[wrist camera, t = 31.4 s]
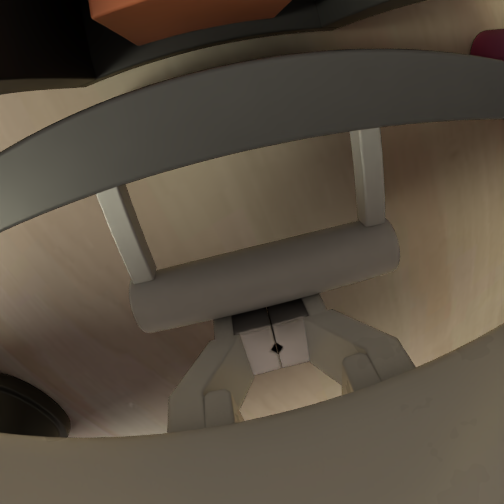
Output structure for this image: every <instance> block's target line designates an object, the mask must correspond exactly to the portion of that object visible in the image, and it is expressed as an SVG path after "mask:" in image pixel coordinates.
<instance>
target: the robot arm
mask: <svg viewBox="0 0 504 504" xmlns="http://www.w3.org/2000/svg"><path fill="white" fill-rule="evenodd" d="M266 308H267V309H266ZM267 312H268V313H267ZM269 320H270V321H269ZM213 321H214V337H215V340H211V341H209V343H208V344H207V346H206V347H205V348H204V350H203V351H202V352H201V354H200V355H199V357H198V358H197V359H196V361H195V362H194V363H193V365H192V366H191V368H190V369H189V370H188V372H187V373H186V374H185V376H184V377H183V379H182V380H181V381H180V383H179V384H178V385H177V387H176V388H175V389H174V391H173V392H172V394H171V395H170V396H169V403H168V429H167V433H163V434H153V435H141V436H126V437H100V438H67V437H42V436H28V435H17V434H7V433H0V504H504V323H503V324H501V325H499V326H498V327H496V328H494V329H493V330H491V331H489V332H487V333H485V334H484V335H482V336H480V337H478V338H476V339H474V340H473V341H471V342H469V343H467V344H465V345H463V346H461V347H459V348H457V349H455V350H453V351H451V352H449V353H447V354H445V355H443V356H440V357H438V358H436V359H434V360H432V361H430V362H427V363H425V364H423V365H421V366H418V367H415V365H414V364H413V362H412V361H411V359H410V357H409V356H408V354H407V353H406V351H405V350H404V348H403V347H402V345H401V343H400V342H399V340H398V339H397V338H396V337H393V336H391V335H389V334H387V333H384V332H382V331H380V330H378V329H375V328H373V327H371V326H369V325H366V324H364V323H362V322H360V321H357V320H355V319H353V318H351V317H349V316H346V315H344V314H342V313H340V312H338V311H335V310H333V309H331V310H327V308H326V306H325V304H324V302H323V300H322V298H321V296H320V294H319V293H318V294H314V295H311V296H307V297H303V298H299V299H296V300H292V301H288V302H284V303H280V304H276V305H272V306H268V307H264V308H260V309H256V310H252V311H248V312H244V313H240V314H236V315H231V316H227V317H223V318H218V319H214V320H213ZM275 343H276V345H275ZM276 347H277V349H276ZM277 351H278V353H277ZM278 354H279V357H278ZM279 358H280V361H281V365H282V368H284V367H288V366H292V365H296V364H300V363H304V362H308V361H310V363H312V364H313V365H314V366H316V367H317V368H318V369H320V370H321V371H323V372H324V373H325V374H327V375H328V376H329V377H331V378H332V379H334V380H335V381H336V382H338V383H339V384H340V385H342V396H339V397H336V398H332V399H329V400H326V401H323V402H319V403H316V404H312V405H309V406H305V407H302V408H298V409H294V410H290V411H286V412H282V413H278V414H274V415H270V416H266V417H261V418H257V419H252V420H247V421H244V419H243V417H242V415H241V413H240V411H239V410H240V408H241V406H242V403H243V401H244V399H245V397H246V394H247V392H248V390H249V388H250V385H251V383H252V381H253V379H254V375H258V374H262V373H266V372H269V371H273V370H276V369H280V368H281V366H280V361H279Z"/></svg>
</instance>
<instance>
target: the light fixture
mask: <svg viewBox="0 0 504 504" xmlns="http://www.w3.org/2000/svg"><path fill="white" fill-rule="evenodd" d="M69 429H70V421H69V419H68V417H67V415H66V414H65V412H64V411H63V410H62V409H61V408H60V406H59V405H58V404H56V403H55V402H54V401H53V400H52V399H51V398H49V397H48V396H47V395H45V394H44V393H43V392H41V391H40V390H38V389H36V388H35V387H33V386H31V385H29V384H28V383H26V382H24V381H21V380H19V379H17V378H14V377H12V376H8V375H5V374H0V433H7V434H17V435H28V436H42V437H68V433H69Z"/></svg>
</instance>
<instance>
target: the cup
mask: <svg viewBox="0 0 504 504" xmlns="http://www.w3.org/2000/svg"><path fill="white" fill-rule="evenodd" d="M470 55H474V56H481V57H487V58H493V59H498V60H503V61H504V29H497V30H486V31H483V32H481V33H479V34H478V35H477V36H476V38H475V40H474V41H473V44H472V47H471V53H470Z"/></svg>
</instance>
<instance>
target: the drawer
mask: <svg viewBox="0 0 504 504" xmlns="http://www.w3.org/2000/svg"><path fill="white" fill-rule="evenodd" d="M422 1H426V0H292V1H291V2H290V3H289V4H288V5H286V6H285V7H284V8H283V9H282V10H281V11H280V12H279V13H278V14H277V15H276V16H275V17H274V18H269V19H261V20H253V21H245V22H239V23H233V24H227V25H221V26H216V27H211V28H206V29H201V30H196V31H192V32H188V33H183V34H179V35H175V36H172V37H168V38H164V39H161V40H157V41H154V42H150V43H147V44H144V45H141V46H137V45H135V44H134V43H132V42H130V41H129V40H127V39H126V38H124V37H122V36H121V35H119V34H117V33H116V32H114V31H112V30H110V29H109V28H107V27H105V26H103V25H102V24H100V23H98V22H96V21H95V20H93V19H92V18H91V15H90V8H89V2H88V0H0V94H8V93H16V92H24V91H34V90H46V89H62V88H77V87H87V86H89V85H92V84H94V83H96V82H99V81H101V80H104V79H106V78H109V77H112V76H114V75H117V74H119V73H122V72H125V71H128V70H131V69H133V68H136V67H139V66H142V65H145V64H148V63H152V62H155V61H158V60H161V59H165V58H168V57H172V56H175V55H179V54H182V53H186V52H190V51H194V50H198V49H202V48H207V47H211V46H216V45H220V44H225V43H230V42H236V41H241V40H247V39H253V38H259V37H266V36H274V35H282V34H291V33H301V32H314V31H331V30H335V29H338V28H340V27H343V26H346V25H348V24H351V23H354V22H357V21H359V20H362V19H365V18H368V17H371V16H374V15H377V14H380V13H383V12H386V11H390V10H393V9H396V8H400V7H403V6H407V5H410V4H414V3H418V2H422ZM482 119H504V61H503V60H498V59H493V58H487V57H481V56H474V55H467V54H460V53H451V52H441V51H429V50H413V49H345V50H329V51H316V52H306V53H297V54H288V55H281V56H274V57H267V58H261V59H255V60H249V61H244V62H238V63H233V64H228V65H224V66H219V67H215V68H210V69H206V70H202V71H198V72H194V73H190V74H186V75H182V76H179V77H175V78H172V79H168V80H165V81H162V82H158V83H155V84H152V85H149V86H146V87H143V88H140V89H137V90H134V91H131V92H128V93H125V94H122V95H120V96H117V97H114V98H112V99H109V100H106V101H104V102H101V103H99V104H96V105H94V106H91V107H89V108H87V109H84V110H82V111H80V112H77V113H75V114H73V115H71V116H68V117H66V118H64V119H62V120H60V121H58V122H56V123H53V124H51V125H49V126H47V127H45V128H43V129H41V130H39V131H37V132H36V133H34V134H32V135H30V136H28V137H26V138H24V139H22V140H21V141H19V142H17V143H15V144H13V145H12V146H10V147H8V148H7V149H5V150H3V151H1V152H0V232H2V231H4V230H7V229H9V228H11V227H13V226H16V225H18V224H20V223H23V222H25V221H27V220H30V219H32V218H35V217H37V216H39V215H42V214H44V213H47V212H49V211H52V210H54V209H57V208H59V207H62V206H65V205H67V204H70V203H73V202H75V201H78V200H81V199H83V198H86V197H89V196H92V195H95V194H96V195H97V198H98V201H99V203H100V206H101V209H102V211H103V214H104V216H105V219H106V221H107V224H108V226H109V229H110V231H111V234H112V236H113V239H114V241H115V243H116V246H117V248H118V250H119V253H120V255H121V257H122V259H123V262H124V264H125V266H126V268H127V271H128V273H129V275H130V277H131V281H130V284H129V299H130V305H131V309H132V313H133V316H134V318H135V320H136V322H137V324H138V326H139V327H140V329H141V330H142V331H143V332H146V333H153V332H158V331H163V330H168V329H173V328H177V327H182V326H187V325H191V324H196V323H201V322H205V321H210V320H214V319H218V318H223V317H227V316H231V315H236V314H240V313H244V312H248V311H252V310H256V309H260V308H264V307H268V306H272V305H276V304H280V303H284V302H288V301H292V300H296V299H299V298H303V297H307V296H311V295H314V294H318V293H322V292H325V291H329V290H332V289H336V288H340V287H343V286H347V285H350V284H354V283H357V282H360V281H364V280H367V279H370V278H374V277H377V276H380V275H384V274H387V273H390V272H393V271H394V270H396V268H397V267H398V265H399V261H400V249H399V243H398V239H397V236H396V233H395V231H394V228H393V227H392V225H391V223H390V222H389V221H388V220H387V219H386V218H385V190H384V169H383V154H382V142H381V131H380V127H387V126H396V125H406V124H416V123H428V122H441V121H458V120H482ZM343 132H350V137H351V146H352V155H353V165H354V176H355V187H356V201H357V216H358V220H359V221H356V222H351V223H347V224H343V225H339V226H335V227H331V228H327V229H323V230H319V231H314V232H310V233H306V234H302V235H298V236H294V237H290V238H286V239H282V240H278V241H274V242H269V243H265V244H261V245H257V246H253V247H249V248H245V249H241V250H237V251H233V252H229V253H225V254H221V255H217V256H213V257H209V258H205V259H201V260H197V261H193V262H188V263H184V264H180V265H176V266H172V267H168V268H164V269H160V270H156V269H157V267H156V265H155V262H154V260H153V257H152V255H151V252H150V250H149V247H148V245H147V242H146V240H145V237H144V234H143V232H142V229H141V226H140V224H139V221H138V218H137V216H136V213H135V210H134V207H133V205H132V202H131V199H130V196H129V193H128V190H127V187H126V184H127V183H130V182H133V181H137V180H140V179H143V178H146V177H149V176H153V175H156V174H159V173H163V172H166V171H170V170H173V169H177V168H180V167H184V166H188V165H191V164H195V163H199V162H203V161H206V160H210V159H214V158H218V157H222V156H226V155H231V154H235V153H239V152H243V151H248V150H252V149H257V148H261V147H266V146H271V145H276V144H281V143H286V142H291V141H296V140H301V139H307V138H312V137H318V136H324V135H330V134H336V133H343Z"/></svg>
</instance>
